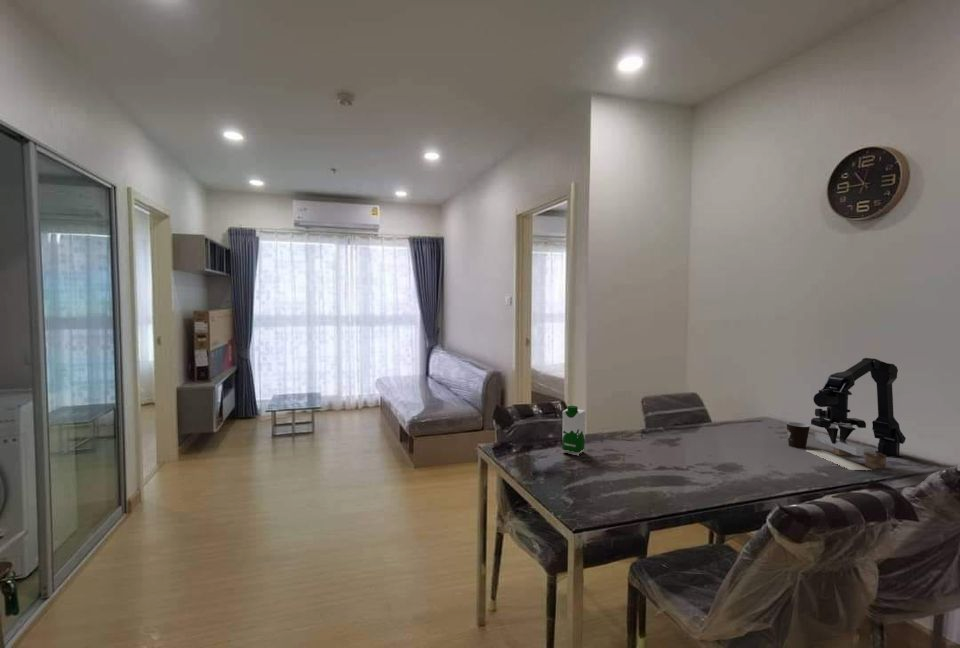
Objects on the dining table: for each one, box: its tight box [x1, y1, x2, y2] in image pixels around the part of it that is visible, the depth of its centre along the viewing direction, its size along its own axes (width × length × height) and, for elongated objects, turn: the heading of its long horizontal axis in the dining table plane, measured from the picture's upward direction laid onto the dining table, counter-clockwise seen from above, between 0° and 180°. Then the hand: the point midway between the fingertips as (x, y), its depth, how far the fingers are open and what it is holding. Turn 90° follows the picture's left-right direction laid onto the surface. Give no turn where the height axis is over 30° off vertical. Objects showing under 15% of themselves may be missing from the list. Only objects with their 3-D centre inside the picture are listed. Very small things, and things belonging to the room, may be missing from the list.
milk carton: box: [561, 405, 587, 452], centre depth 192 cm, size 9×9×20 cm
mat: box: [805, 449, 872, 472], centre depth 188 cm, size 8×24×1 cm, turn 1°
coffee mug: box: [786, 421, 811, 449], centre depth 208 cm, size 12×9×10 cm
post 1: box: [832, 440, 853, 456], centre depth 196 cm, size 6×3×5 cm, turn 91°
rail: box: [813, 431, 865, 456], centre depth 188 cm, size 3×22×3 cm, turn 1°
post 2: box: [864, 452, 887, 469], centre depth 180 cm, size 6×3×5 cm, turn 91°
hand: (837, 443), depth 188 cm, fingers closed on rail, 3 cm apart
